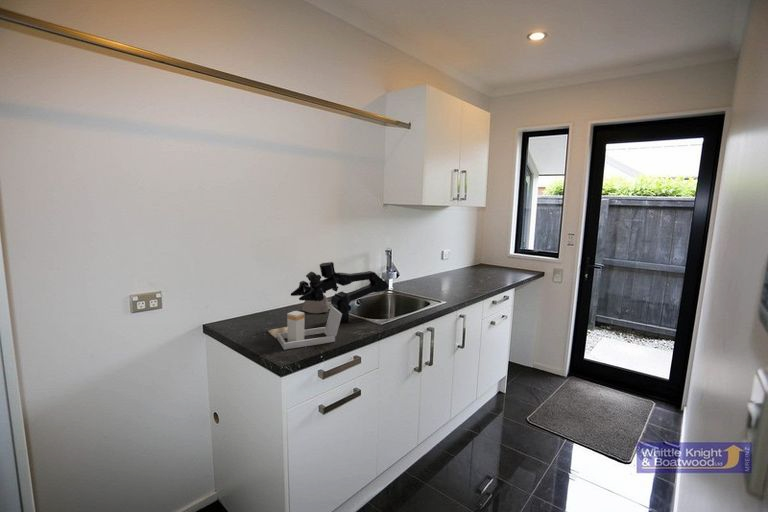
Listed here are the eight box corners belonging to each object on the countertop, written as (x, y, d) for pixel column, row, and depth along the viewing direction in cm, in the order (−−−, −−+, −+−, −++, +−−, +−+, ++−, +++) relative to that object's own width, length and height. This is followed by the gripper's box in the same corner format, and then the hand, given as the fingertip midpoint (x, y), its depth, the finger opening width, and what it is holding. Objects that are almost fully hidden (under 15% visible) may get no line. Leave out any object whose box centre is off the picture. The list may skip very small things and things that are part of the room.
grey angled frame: (332, 330, 173) (332, 305, 171) (342, 340, 162) (342, 313, 160) (277, 338, 161) (277, 311, 160) (283, 349, 150) (283, 320, 148)
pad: (288, 327, 176) (288, 326, 176) (297, 333, 168) (297, 332, 168) (267, 331, 170) (267, 330, 170) (275, 338, 162) (275, 337, 162)
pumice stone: (300, 312, 200) (300, 294, 199) (306, 308, 208) (306, 291, 206) (326, 315, 197) (326, 296, 196) (331, 311, 204) (331, 293, 203)
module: (295, 339, 162) (295, 310, 160) (304, 341, 159) (304, 312, 157) (287, 342, 157) (287, 313, 155) (296, 345, 155) (296, 315, 153)
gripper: (312, 266, 183) (282, 277, 175) (330, 273, 169) (299, 284, 160) (316, 287, 186) (288, 298, 178) (335, 295, 172) (305, 307, 163)
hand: (294, 296), depth 170 cm, fingers open, 9 cm apart
